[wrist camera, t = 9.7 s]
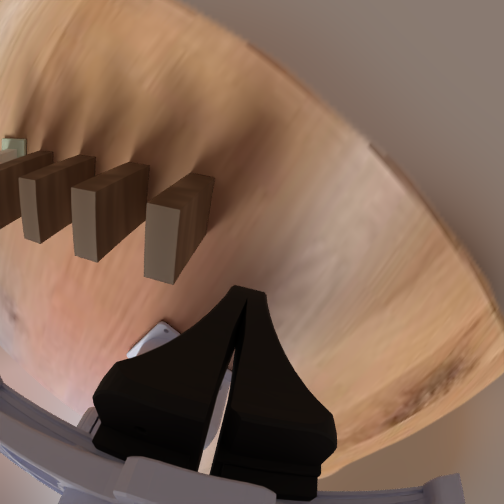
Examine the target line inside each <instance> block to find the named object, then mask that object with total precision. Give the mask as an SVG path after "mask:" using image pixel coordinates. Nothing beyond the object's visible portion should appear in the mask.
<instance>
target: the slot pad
mask: <svg viewBox="0 0 504 504" xmlns="http://www.w3.org/2000/svg"><path fill="white" fill-rule="evenodd" d="M5 149H17V158H19V157H22V156H25V155H26V139H15V138H3V139H2V150H5Z"/></svg>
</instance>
